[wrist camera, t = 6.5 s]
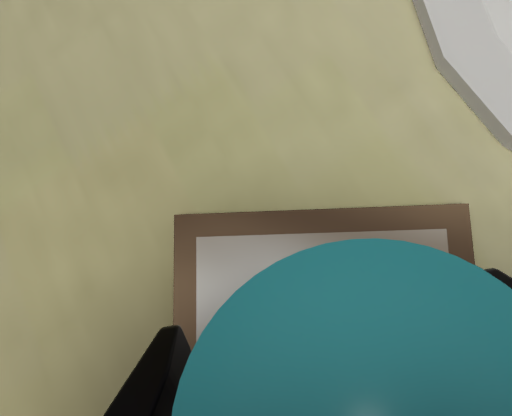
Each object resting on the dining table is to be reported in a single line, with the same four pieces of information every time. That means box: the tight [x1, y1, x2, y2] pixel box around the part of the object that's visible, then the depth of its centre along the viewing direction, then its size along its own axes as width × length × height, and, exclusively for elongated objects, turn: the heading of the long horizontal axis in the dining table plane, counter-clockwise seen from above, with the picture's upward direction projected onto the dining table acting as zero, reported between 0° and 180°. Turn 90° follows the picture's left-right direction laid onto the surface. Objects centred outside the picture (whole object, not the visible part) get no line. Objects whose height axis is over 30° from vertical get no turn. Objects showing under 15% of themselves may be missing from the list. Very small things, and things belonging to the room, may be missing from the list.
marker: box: [172, 238, 512, 416], centre depth 11 cm, size 4×4×14 cm
